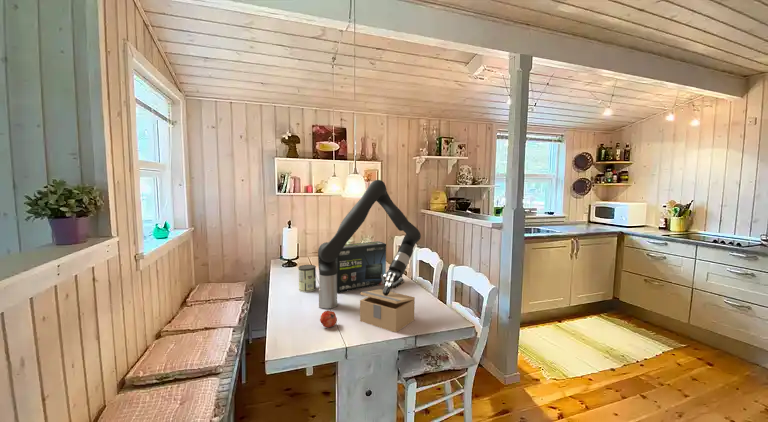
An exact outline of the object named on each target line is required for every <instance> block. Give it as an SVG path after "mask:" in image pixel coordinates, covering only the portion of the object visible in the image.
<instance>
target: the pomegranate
mask: <svg viewBox="0 0 768 422" xmlns="http://www.w3.org/2000/svg"><path fill="white" fill-rule="evenodd" d="M319 322H320V323H321V325H322V327H324V328H327V329H329V328H331V327H334V326H336V324H337V322H338V317H337V314H336V313H335V311H331V310H325V311H323V312H322V313H321V315H320V318H319Z"/></svg>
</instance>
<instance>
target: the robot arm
mask: <svg viewBox="0 0 768 422" xmlns="http://www.w3.org/2000/svg"><path fill="white" fill-rule="evenodd" d="M375 203H377V204H378V205H380V206H381V207H382V208H383V210H384V211H385V213H386V214H387V216H388V217H389V218H390V219H391V221H392V223H393V224H394V226H395V227H396V228H397V230H398V231H400V232H401V231H403V232H404V233H405V235H404V237H403V238H402V241H401V244H400V246H399V248H398V250H397V252H396V254H395V256H393V258H392V260H391V263H390V265H389V266H388V270H386V274H384V275H383V274H381V278H382V283H383V285H382V286H384V287H383V289H382V290H383V294H384V295H386V296H387V295H388V294H389V292H391V291H392V289H395V290H396V289H397V288H398V287H400V286H401V285H403V284H405V279H403V275H404V273H405V271H406V269H407V267H408V265H409V262H410V259H411V257H412V255H413V254H414V253H413V252H414V248H415V245H417V243H418V242H419V241H420V239H421V238H422V235H421V232H420V230H419V229H418V228H417V227H416V226H415V225H414V224H413V223H411V222H410V221H409V220H408V218H407V217H406V215H405V214H404V213H403V212H402V210H401V209H400V208H399V207H398V206H397V205H396V204H395V203H394V201H393V200H392V198H391V197H390V195H389V193H388V191H387V186H386V184H385V182H384V181H383V180H381V179H376V180H373V181H371V182H370V184H369V186H368V187H367V189H366V190H365V192H364V193H363V195H362V196H361V197H360V199H359V200H358V201H357V202H356V203H355V204H354V206H353V207H352V208H351V209H350V210H349V211H348V212H347V214H346V215H345V217H344V218H343V219H342V221H341V222H340V224H339V227H338V229H337V231H336V233H335V234H334V236H333V237H331V239H330V240H329V241H328V242H327V241H326V242H324V243H321V244H320V245H319V247H318V250H317V257H318V259H317V262H318V276H319V277H318V281H319V282H318V284H319V286H318V287H319V288H318V308H320V309H329V310H330V309H334V308H336V307H337V306H338V293H337V267H336V258H337V257H338V255H339V253H340V252H341V250H342V249H343V247H344V245H346V244H347V243H348V241H349V240H350V239H351V238H352V237H353V235H354V234H355V233H356V232H357V231H358V230H359V228H361V226H362V225H363V223H364V222H365V220H366V219H367V217H368V214H369V212H371V211H370V210H371V209H372V207H373V205H374V204H375Z"/></svg>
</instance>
